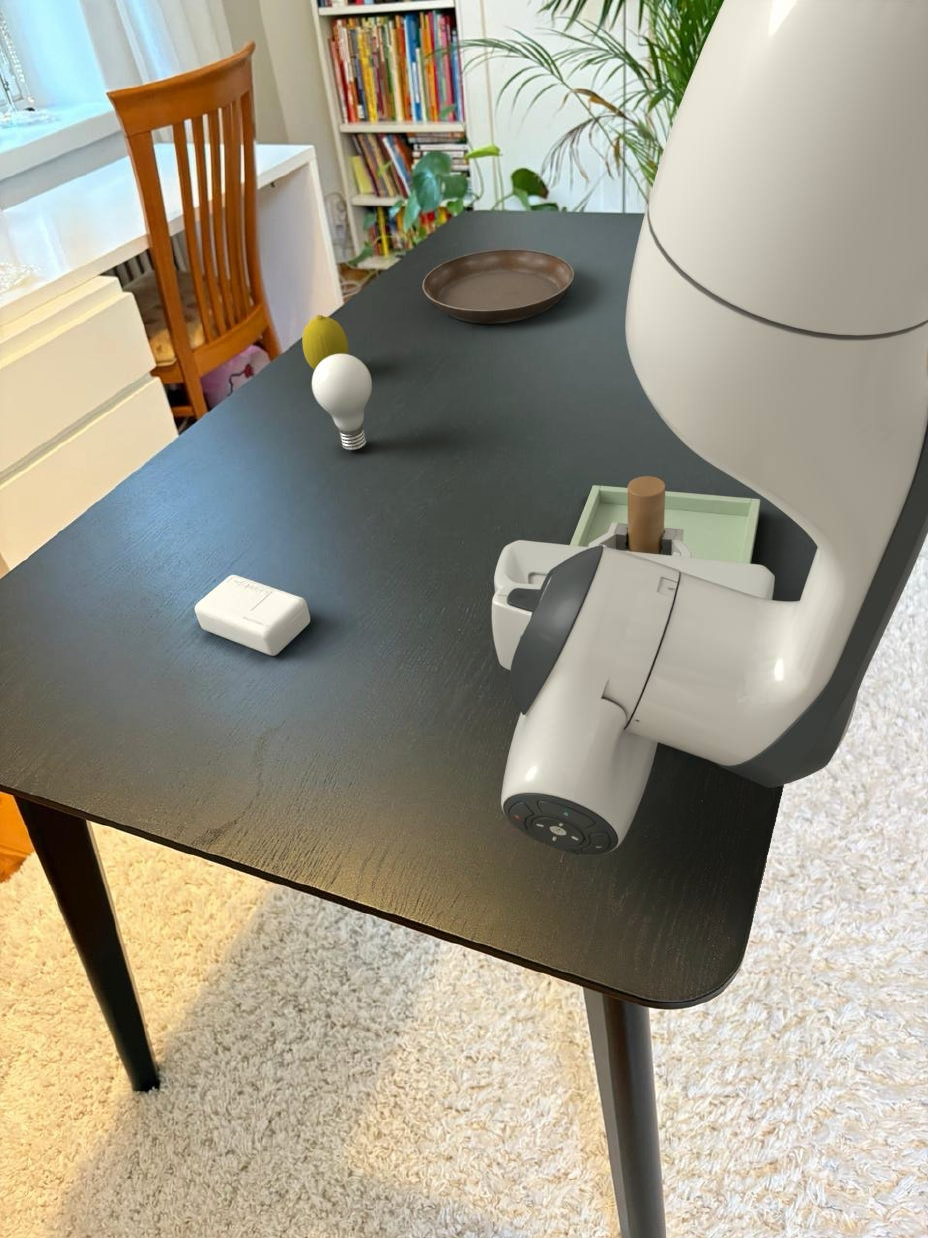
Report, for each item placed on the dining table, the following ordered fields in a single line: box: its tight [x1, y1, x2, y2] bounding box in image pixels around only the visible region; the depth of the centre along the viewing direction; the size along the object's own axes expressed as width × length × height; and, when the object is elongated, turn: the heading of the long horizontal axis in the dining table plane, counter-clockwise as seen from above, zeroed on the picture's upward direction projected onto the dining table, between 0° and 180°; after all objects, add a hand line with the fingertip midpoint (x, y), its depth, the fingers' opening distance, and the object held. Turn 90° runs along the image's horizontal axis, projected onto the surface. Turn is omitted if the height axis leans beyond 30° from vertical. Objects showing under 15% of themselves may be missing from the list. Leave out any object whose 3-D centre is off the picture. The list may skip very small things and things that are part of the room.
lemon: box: [301, 314, 349, 370], centre depth 120 cm, size 6×6×8 cm
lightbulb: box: [311, 353, 373, 452], centre depth 105 cm, size 6×6×11 cm
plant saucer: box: [422, 248, 575, 325], centre depth 133 cm, size 21×21×3 cm
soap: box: [194, 574, 311, 656], centre depth 85 cm, size 9×6×3 cm, turn 58°
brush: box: [627, 475, 666, 555], centre depth 77 cm, size 6×4×12 cm, turn 72°
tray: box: [569, 484, 761, 564], centre depth 84 cm, size 16×24×2 cm, turn 162°
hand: (647, 532), depth 77 cm, fingers closed on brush, 3 cm apart
